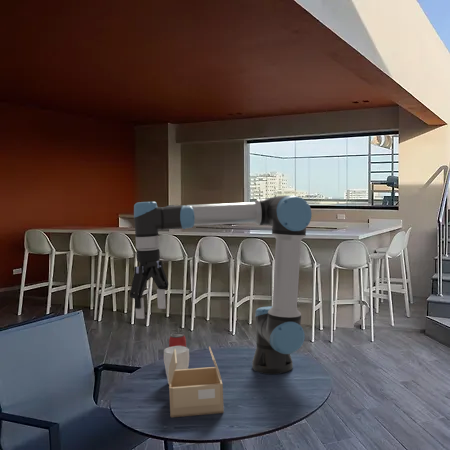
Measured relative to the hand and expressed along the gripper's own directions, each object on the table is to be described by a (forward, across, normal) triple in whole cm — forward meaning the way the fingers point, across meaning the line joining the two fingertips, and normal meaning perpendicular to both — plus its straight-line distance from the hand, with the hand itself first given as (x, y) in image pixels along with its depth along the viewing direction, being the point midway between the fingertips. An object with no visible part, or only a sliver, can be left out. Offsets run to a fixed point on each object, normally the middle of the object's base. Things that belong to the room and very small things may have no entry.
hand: (151, 313), depth 167 cm
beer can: (+28, -29, -7) cm, 41 cm away
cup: (+28, -12, +2) cm, 30 cm away
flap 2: (+18, -1, +23) cm, 29 cm away
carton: (+28, +3, +16) cm, 32 cm away
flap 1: (+18, +7, +10) cm, 21 cm away
